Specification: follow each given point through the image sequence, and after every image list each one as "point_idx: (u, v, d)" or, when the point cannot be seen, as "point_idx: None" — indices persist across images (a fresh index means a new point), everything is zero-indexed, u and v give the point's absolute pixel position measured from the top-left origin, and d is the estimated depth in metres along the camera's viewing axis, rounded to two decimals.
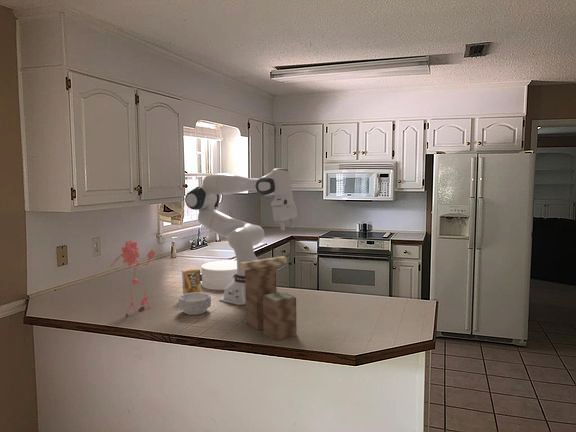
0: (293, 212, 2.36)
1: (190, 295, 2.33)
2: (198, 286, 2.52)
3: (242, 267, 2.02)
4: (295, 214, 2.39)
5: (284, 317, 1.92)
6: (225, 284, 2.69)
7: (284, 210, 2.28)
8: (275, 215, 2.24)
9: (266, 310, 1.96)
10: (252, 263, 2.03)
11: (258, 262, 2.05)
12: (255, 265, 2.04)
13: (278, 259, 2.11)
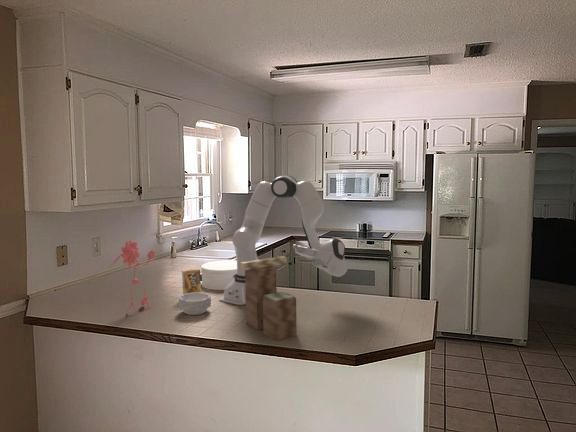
0: (303, 255, 2.26)
1: (190, 295, 2.33)
2: (198, 286, 2.52)
3: (242, 267, 2.02)
4: (298, 253, 2.27)
5: (284, 317, 1.92)
6: (225, 284, 2.69)
7: (318, 259, 2.20)
8: (325, 256, 2.14)
9: (266, 310, 1.96)
10: (252, 263, 2.03)
11: (258, 262, 2.05)
12: (255, 265, 2.04)
13: (278, 259, 2.11)
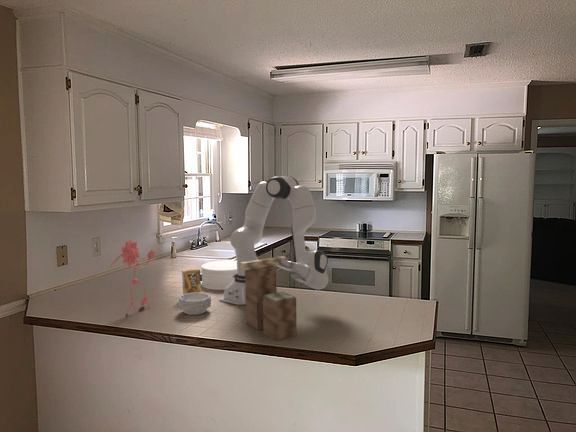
0: (282, 267, 2.20)
1: (190, 295, 2.33)
2: (198, 286, 2.52)
3: (242, 267, 2.02)
4: None
5: (284, 317, 1.92)
6: (225, 284, 2.68)
7: (297, 272, 2.14)
8: (303, 269, 2.08)
9: (266, 310, 1.96)
10: (252, 263, 2.03)
11: (258, 262, 2.05)
12: (255, 265, 2.04)
13: (278, 259, 2.11)
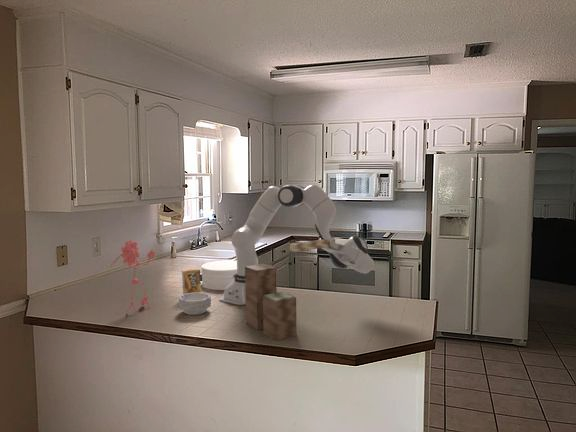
0: (329, 250, 2.15)
1: (190, 295, 2.33)
2: (198, 286, 2.52)
3: (291, 249, 1.98)
4: (324, 249, 2.17)
5: (284, 317, 1.92)
6: (225, 284, 2.68)
7: (345, 255, 2.09)
8: (353, 251, 2.04)
9: (266, 310, 1.96)
10: (302, 245, 1.99)
11: (308, 244, 2.00)
12: (305, 247, 1.99)
13: (327, 241, 2.06)
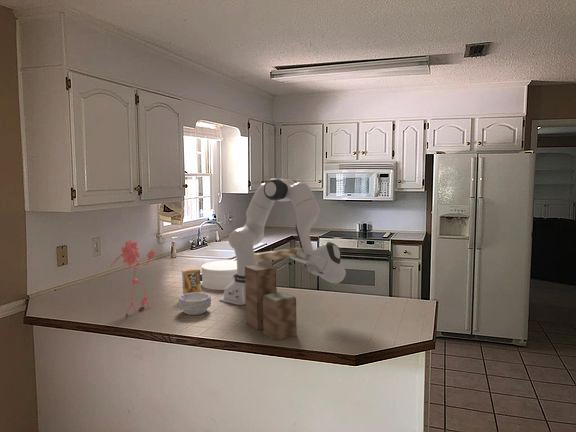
0: (297, 260, 2.06)
1: (190, 295, 2.33)
2: (198, 286, 2.52)
3: (255, 259, 1.88)
4: (292, 258, 2.07)
5: (284, 317, 1.92)
6: (225, 284, 2.68)
7: (313, 264, 1.99)
8: (321, 261, 1.94)
9: (266, 310, 1.96)
10: (266, 254, 1.89)
11: (272, 253, 1.91)
12: (269, 257, 1.90)
13: (293, 250, 1.96)
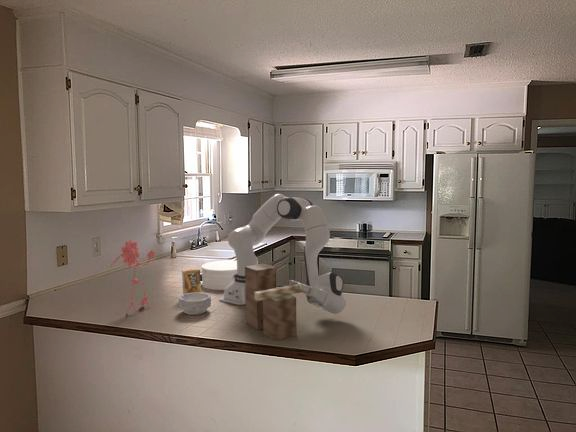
0: None
1: (190, 295, 2.33)
2: (198, 286, 2.52)
3: (256, 297, 1.90)
4: None
5: (284, 317, 1.92)
6: (225, 284, 2.68)
7: (313, 297, 2.01)
8: (321, 294, 1.96)
9: (266, 310, 1.96)
10: (267, 293, 1.91)
11: (273, 291, 1.93)
12: (270, 295, 1.92)
13: (294, 287, 1.98)
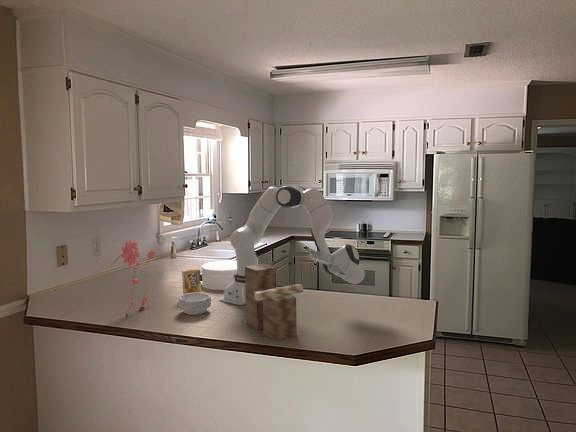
0: (319, 260, 2.12)
1: (190, 295, 2.33)
2: (198, 286, 2.52)
3: (256, 297, 1.90)
4: (314, 258, 2.14)
5: (284, 317, 1.92)
6: (225, 284, 2.68)
7: (335, 265, 2.06)
8: (343, 262, 2.01)
9: (266, 310, 1.96)
10: (267, 293, 1.91)
11: (273, 291, 1.93)
12: (270, 295, 1.92)
13: (294, 287, 1.98)
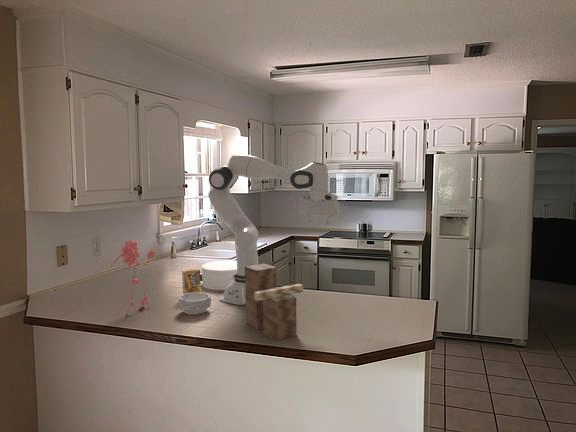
0: None
1: (190, 295, 2.33)
2: (198, 286, 2.52)
3: (256, 297, 1.90)
4: None
5: (284, 317, 1.92)
6: (225, 284, 2.68)
7: None
8: (338, 208, 2.26)
9: (266, 310, 1.96)
10: (267, 293, 1.91)
11: (273, 291, 1.93)
12: (270, 295, 1.92)
13: (294, 287, 1.98)
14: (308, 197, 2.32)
